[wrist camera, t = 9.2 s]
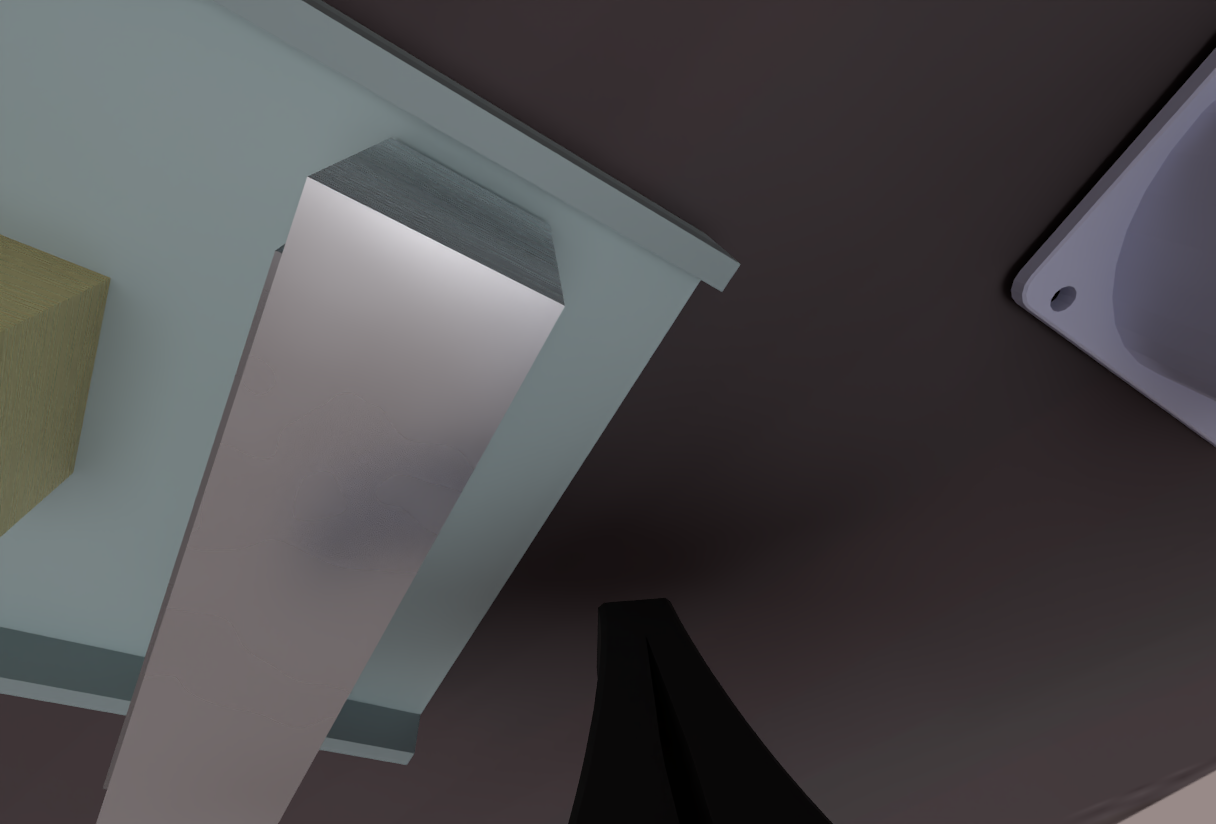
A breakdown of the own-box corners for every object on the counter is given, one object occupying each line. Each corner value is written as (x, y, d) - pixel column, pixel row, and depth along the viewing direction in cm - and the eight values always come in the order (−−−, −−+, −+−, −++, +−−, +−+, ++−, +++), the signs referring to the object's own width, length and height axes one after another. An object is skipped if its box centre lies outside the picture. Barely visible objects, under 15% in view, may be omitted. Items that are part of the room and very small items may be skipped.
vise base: (705, 234, 11) (740, 263, 9) (419, 690, 16) (406, 764, 14) (-555, -533, 6) (-1037, -805, 4) (-365, 516, 11) (-532, 599, 9)
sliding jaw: (549, 224, 9) (565, 305, 6) (312, 690, 14) (247, 878, 10) (376, 129, 8) (282, 163, 5) (183, 662, 13) (69, 860, 9)
